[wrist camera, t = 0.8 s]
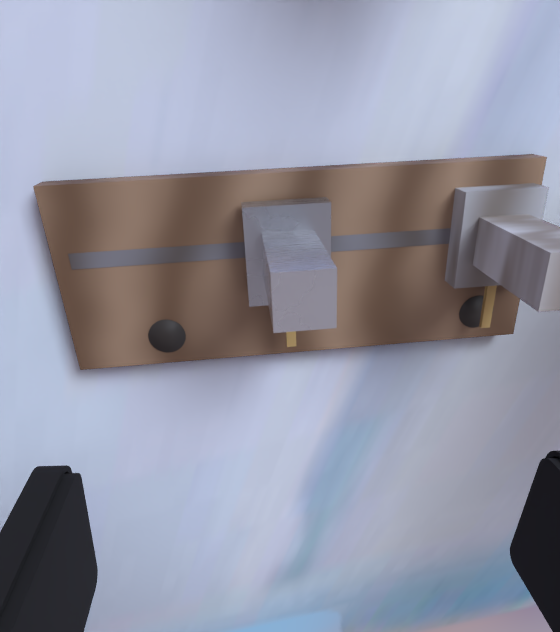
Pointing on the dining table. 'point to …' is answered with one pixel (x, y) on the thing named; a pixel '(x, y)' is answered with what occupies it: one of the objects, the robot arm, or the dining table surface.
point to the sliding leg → (291, 263)
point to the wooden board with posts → (346, 252)
